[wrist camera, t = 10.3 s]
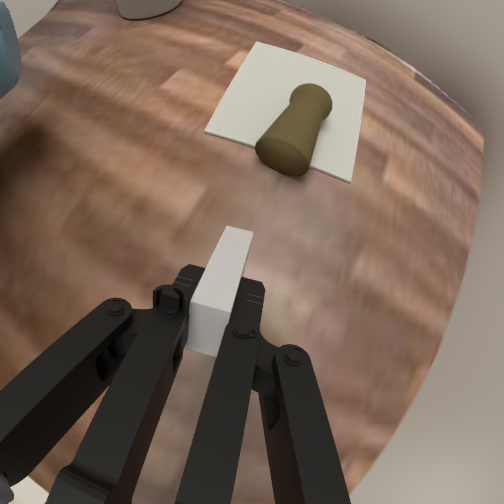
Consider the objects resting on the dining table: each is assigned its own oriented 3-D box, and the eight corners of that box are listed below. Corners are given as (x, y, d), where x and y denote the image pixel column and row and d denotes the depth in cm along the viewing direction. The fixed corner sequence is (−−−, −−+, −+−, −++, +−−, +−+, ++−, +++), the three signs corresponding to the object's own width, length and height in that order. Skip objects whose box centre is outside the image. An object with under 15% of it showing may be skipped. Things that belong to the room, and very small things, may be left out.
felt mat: (349, 183, 32) (350, 181, 32) (204, 132, 32) (204, 130, 31) (365, 81, 37) (366, 80, 36) (256, 43, 36) (256, 41, 36)
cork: (253, 129, 26) (294, 69, 29) (255, 163, 32) (291, 103, 34) (313, 151, 25) (343, 86, 28) (305, 182, 31) (334, 118, 33)
